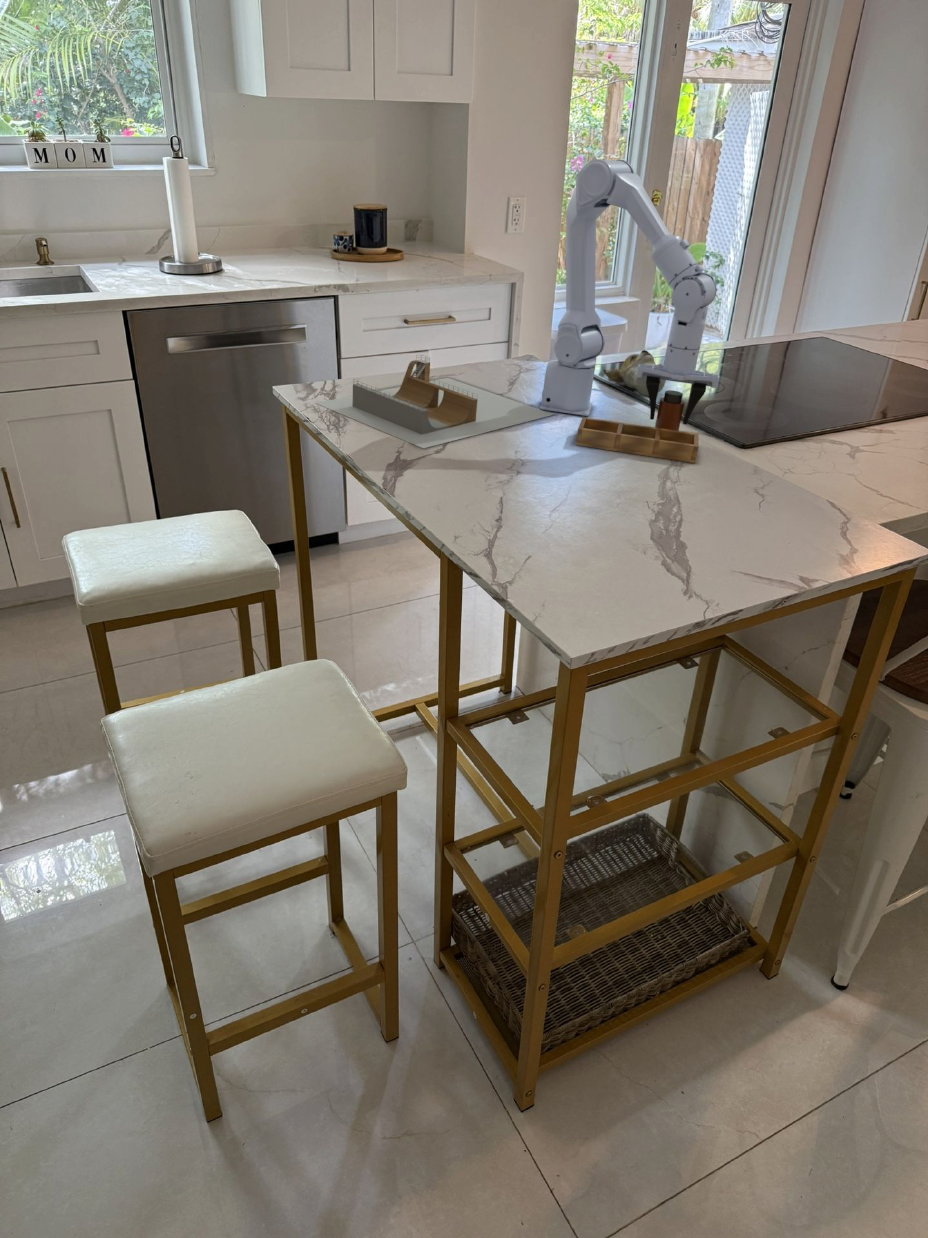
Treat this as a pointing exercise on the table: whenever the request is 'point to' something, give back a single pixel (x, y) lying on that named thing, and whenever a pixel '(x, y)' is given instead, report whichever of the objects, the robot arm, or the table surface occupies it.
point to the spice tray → (638, 439)
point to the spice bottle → (670, 411)
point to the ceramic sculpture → (634, 372)
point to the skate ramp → (432, 408)
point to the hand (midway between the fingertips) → (668, 420)
